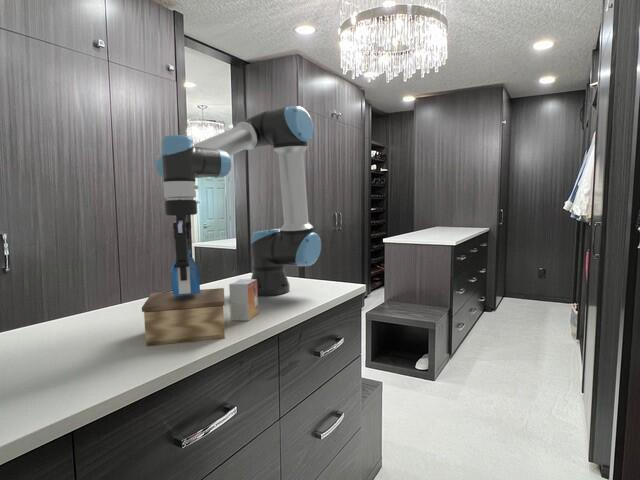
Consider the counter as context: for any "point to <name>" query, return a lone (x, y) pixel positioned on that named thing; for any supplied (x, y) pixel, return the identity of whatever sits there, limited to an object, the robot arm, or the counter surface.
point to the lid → (184, 300)
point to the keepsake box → (184, 325)
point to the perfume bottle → (193, 277)
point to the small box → (243, 299)
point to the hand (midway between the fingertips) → (186, 290)
